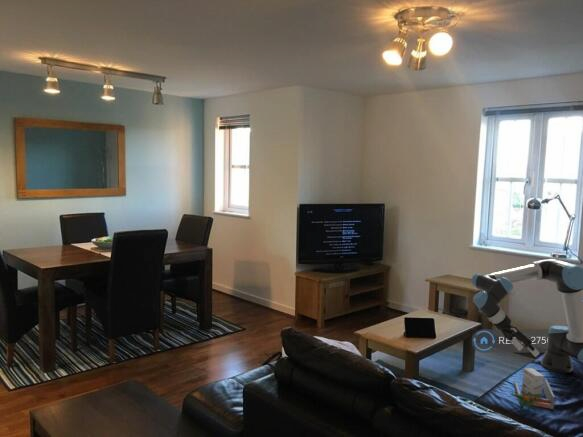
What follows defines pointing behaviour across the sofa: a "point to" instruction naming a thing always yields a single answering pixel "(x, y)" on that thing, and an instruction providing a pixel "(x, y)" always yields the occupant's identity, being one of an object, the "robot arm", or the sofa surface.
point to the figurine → (525, 399)
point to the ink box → (532, 382)
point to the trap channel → (541, 402)
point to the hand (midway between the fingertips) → (529, 351)
